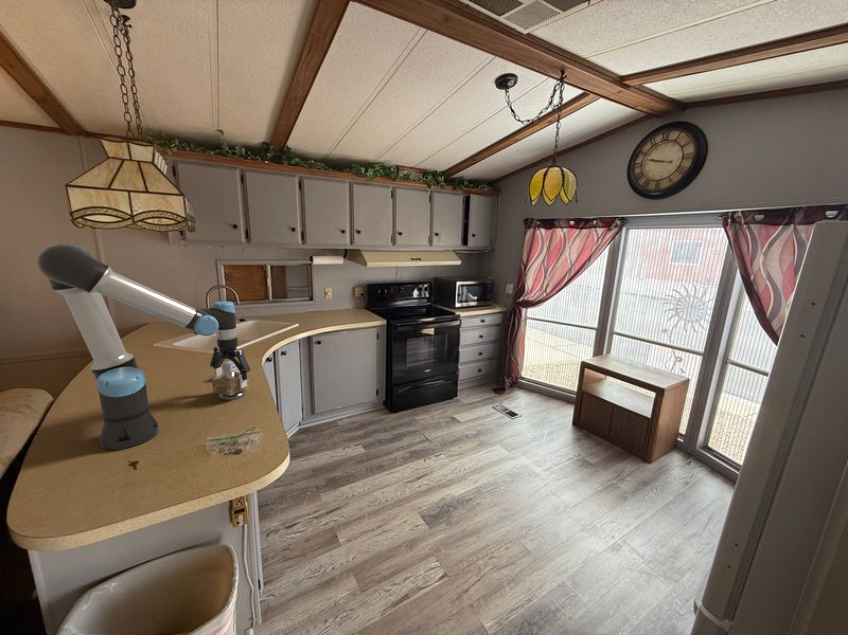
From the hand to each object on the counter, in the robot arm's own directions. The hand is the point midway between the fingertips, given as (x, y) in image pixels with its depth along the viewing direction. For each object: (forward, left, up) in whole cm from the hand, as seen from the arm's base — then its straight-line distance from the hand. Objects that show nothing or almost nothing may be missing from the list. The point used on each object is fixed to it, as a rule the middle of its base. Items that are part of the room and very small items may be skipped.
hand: (231, 384), depth 145 cm
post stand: (0, 0, -5) cm, 5 cm away
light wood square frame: (0, 0, -2) cm, 2 cm away
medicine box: (+16, +17, -6) cm, 24 cm away
